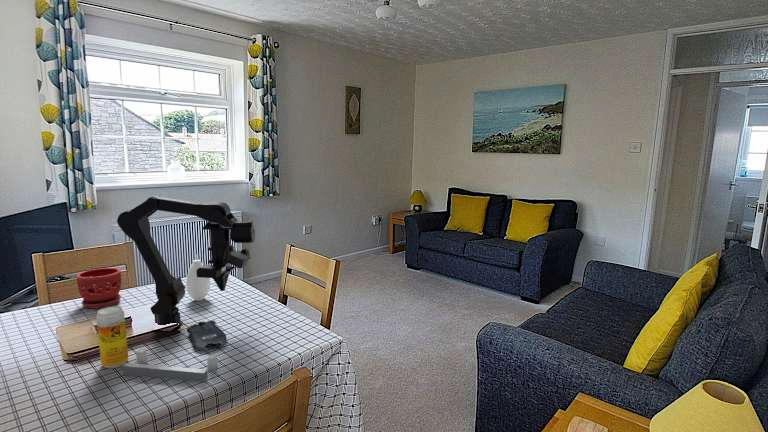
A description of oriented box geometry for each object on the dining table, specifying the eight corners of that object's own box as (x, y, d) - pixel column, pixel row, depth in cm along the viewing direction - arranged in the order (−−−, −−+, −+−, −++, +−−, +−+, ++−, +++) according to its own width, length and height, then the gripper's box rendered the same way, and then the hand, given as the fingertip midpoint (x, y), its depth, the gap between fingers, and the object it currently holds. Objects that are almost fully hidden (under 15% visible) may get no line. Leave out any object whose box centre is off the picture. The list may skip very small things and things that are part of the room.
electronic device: (183, 341, 126) (197, 354, 114) (184, 322, 126) (198, 334, 114) (215, 336, 132) (231, 349, 120) (216, 319, 132) (231, 330, 120)
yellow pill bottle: (108, 371, 105) (102, 316, 103) (97, 364, 108) (91, 311, 106) (133, 361, 110) (128, 309, 108) (121, 355, 114) (116, 303, 111)
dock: (122, 374, 104) (120, 362, 103) (141, 360, 111) (140, 348, 110) (205, 382, 102) (204, 369, 101) (219, 367, 108) (218, 355, 108)
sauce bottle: (203, 294, 159) (200, 249, 156) (214, 299, 155) (212, 253, 152) (183, 300, 153) (180, 253, 150) (195, 305, 148) (192, 257, 145)
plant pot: (130, 301, 151) (127, 270, 149) (90, 313, 140) (86, 280, 138) (113, 294, 158) (110, 264, 155) (73, 305, 147) (69, 273, 145)
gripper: (230, 251, 118) (232, 303, 121) (257, 237, 136) (259, 282, 139) (193, 249, 119) (197, 300, 122) (225, 235, 138) (227, 280, 140)
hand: (222, 290), depth 131 cm, fingers closed
